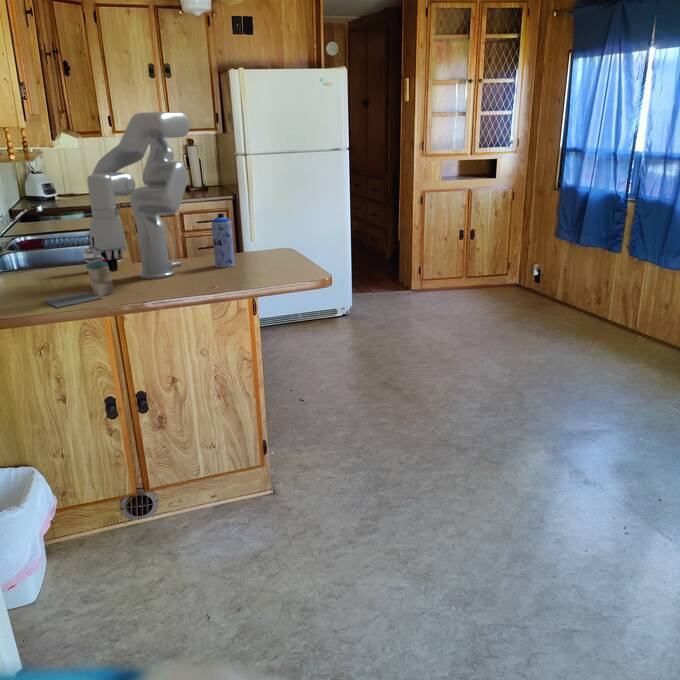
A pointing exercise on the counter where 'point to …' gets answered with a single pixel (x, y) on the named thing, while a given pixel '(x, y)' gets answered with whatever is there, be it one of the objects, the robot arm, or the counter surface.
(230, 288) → the counter surface
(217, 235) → the aerosol can
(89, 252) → the wineglass
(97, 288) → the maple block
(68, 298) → the rubber mat
